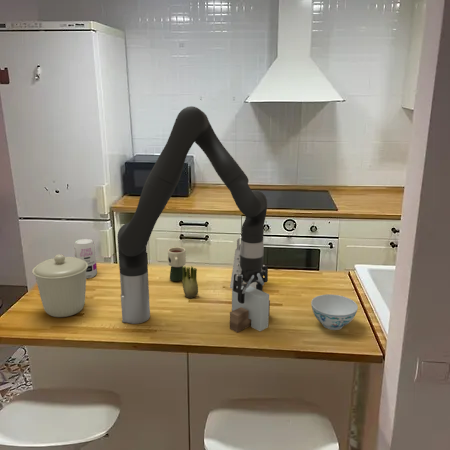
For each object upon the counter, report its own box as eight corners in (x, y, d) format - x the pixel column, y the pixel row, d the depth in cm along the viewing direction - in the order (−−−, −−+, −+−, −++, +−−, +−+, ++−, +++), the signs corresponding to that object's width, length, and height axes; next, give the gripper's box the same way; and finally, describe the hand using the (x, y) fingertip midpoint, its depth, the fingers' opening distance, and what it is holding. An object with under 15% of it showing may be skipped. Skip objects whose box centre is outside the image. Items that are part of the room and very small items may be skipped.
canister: (69, 327, 154) (63, 268, 148) (26, 317, 160) (18, 260, 154) (101, 303, 170) (97, 249, 164) (61, 295, 176) (55, 243, 170)
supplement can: (88, 269, 200) (85, 236, 196) (101, 274, 196) (98, 240, 191) (72, 275, 194) (69, 241, 190) (85, 280, 189) (82, 246, 185)
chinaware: (354, 317, 162) (356, 296, 160) (356, 339, 148) (358, 317, 146) (311, 312, 165) (312, 292, 163) (308, 333, 151) (310, 312, 149)
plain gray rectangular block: (260, 331, 152) (261, 298, 149) (231, 317, 161) (232, 285, 157) (268, 327, 155) (269, 294, 151) (239, 313, 164) (240, 282, 160)
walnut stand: (237, 332, 151) (237, 315, 150) (229, 328, 154) (229, 312, 152) (269, 316, 162) (270, 300, 160) (261, 312, 164) (262, 297, 163)
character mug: (169, 274, 196) (168, 245, 192) (186, 274, 197) (185, 245, 193) (167, 285, 186) (166, 254, 182) (185, 285, 186) (185, 254, 182)
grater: (255, 291, 181) (256, 243, 175) (229, 288, 184) (230, 240, 178) (262, 281, 190) (263, 234, 184) (237, 277, 193) (238, 232, 187)
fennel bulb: (181, 295, 177) (180, 265, 174) (191, 291, 180) (191, 262, 177) (190, 300, 173) (189, 270, 170) (200, 296, 176) (200, 267, 173)
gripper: (244, 261, 143) (243, 309, 148) (275, 251, 153) (272, 296, 157) (227, 255, 148) (227, 301, 153) (258, 245, 158) (256, 289, 162)
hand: (250, 298), depth 155 cm, fingers open, 8 cm apart
